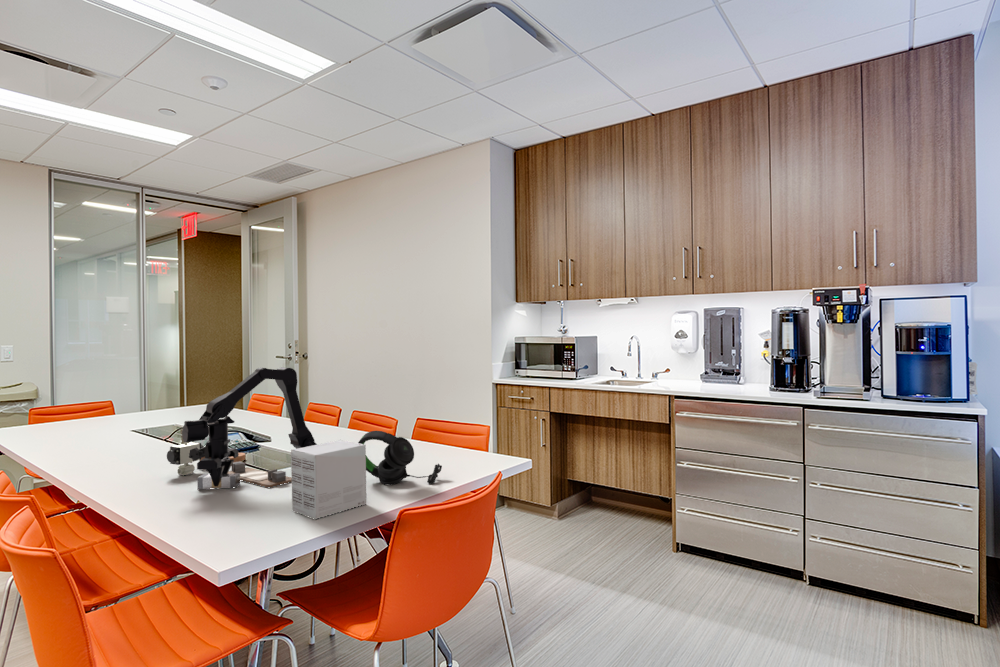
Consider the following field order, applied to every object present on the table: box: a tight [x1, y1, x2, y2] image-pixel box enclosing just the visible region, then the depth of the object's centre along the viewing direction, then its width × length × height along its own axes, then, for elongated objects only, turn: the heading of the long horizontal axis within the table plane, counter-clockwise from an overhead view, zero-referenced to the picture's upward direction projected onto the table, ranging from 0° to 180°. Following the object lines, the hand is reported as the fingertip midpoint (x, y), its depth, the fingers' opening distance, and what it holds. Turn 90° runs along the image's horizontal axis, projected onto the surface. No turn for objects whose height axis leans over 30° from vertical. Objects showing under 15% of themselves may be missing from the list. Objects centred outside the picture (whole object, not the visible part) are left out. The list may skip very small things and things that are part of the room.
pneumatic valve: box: [166, 441, 204, 476], centre depth 200 cm, size 6×12×12 cm, turn 155°
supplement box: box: [290, 439, 367, 520], centre depth 159 cm, size 17×13×18 cm
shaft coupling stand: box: [228, 461, 292, 488], centre depth 193 cm, size 30×10×4 cm, turn 55°
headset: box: [357, 430, 443, 486], centre depth 186 cm, size 18×14×29 cm
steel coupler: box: [196, 473, 241, 490], centre depth 182 cm, size 12×4×4 cm, turn 95°
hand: (219, 484), depth 182 cm, fingers closed on steel coupler, 4 cm apart
